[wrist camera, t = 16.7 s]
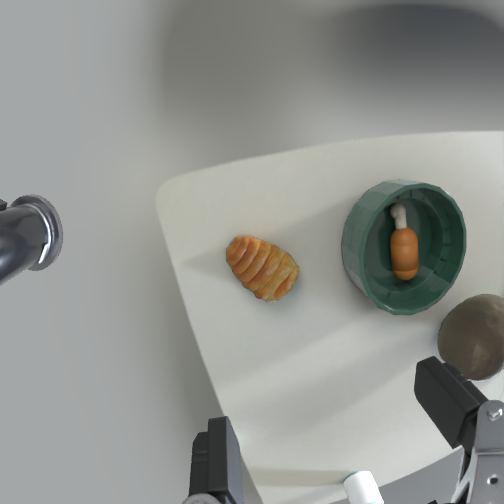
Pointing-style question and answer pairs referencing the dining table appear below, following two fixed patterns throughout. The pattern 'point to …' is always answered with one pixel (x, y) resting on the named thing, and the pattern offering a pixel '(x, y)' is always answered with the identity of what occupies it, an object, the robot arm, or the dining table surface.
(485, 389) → the dining table surface
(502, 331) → the grey clay lump
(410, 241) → the drumstick
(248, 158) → the dining table surface
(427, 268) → the green faceted bowl
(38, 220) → the robot arm
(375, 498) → the can
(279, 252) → the pastry
